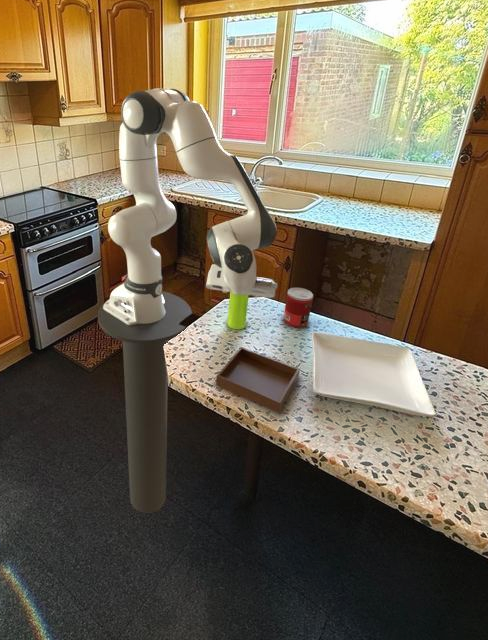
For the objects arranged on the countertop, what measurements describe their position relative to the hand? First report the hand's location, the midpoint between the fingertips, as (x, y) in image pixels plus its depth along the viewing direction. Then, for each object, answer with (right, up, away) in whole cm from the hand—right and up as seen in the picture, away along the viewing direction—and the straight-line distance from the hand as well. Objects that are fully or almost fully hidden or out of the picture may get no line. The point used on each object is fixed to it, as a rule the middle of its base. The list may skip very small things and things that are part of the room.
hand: (240, 292), depth 124 cm
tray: (+1, -23, -17) cm, 29 cm away
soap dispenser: (+1, -11, +8) cm, 14 cm away
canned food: (+20, -10, +10) cm, 25 cm away
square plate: (+30, -23, -15) cm, 41 cm away
